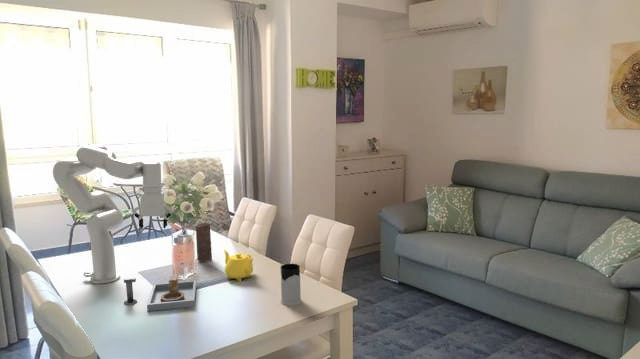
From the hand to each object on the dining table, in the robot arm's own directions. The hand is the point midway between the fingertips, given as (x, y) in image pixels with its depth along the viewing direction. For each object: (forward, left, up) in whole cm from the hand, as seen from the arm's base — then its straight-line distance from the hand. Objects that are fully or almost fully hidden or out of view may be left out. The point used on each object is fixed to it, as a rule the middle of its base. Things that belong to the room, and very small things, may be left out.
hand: (153, 227), depth 212 cm
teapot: (+37, +1, -27) cm, 46 cm away
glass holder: (+55, -30, -27) cm, 68 cm away
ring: (+8, -18, -26) cm, 33 cm away
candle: (+20, +28, -27) cm, 44 cm away
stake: (-9, -18, -27) cm, 33 cm away
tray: (+8, -18, -27) cm, 33 cm away
